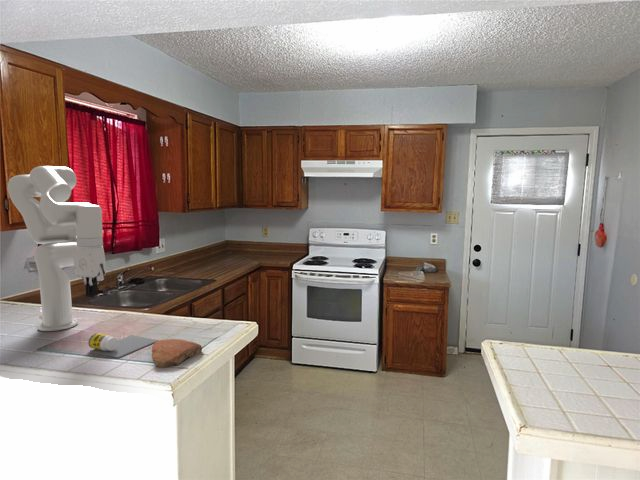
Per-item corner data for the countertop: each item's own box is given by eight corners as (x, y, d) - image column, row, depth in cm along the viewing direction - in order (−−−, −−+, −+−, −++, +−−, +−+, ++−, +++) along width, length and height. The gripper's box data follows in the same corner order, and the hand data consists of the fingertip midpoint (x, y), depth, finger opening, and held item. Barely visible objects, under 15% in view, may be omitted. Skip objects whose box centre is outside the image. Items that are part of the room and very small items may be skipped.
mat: (89, 352, 131) (89, 350, 131) (131, 336, 145) (131, 335, 145) (118, 358, 126) (118, 357, 126) (158, 341, 140) (158, 340, 140)
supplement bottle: (91, 331, 133) (110, 334, 129) (102, 335, 136) (121, 338, 133) (84, 346, 131) (103, 349, 127) (96, 349, 134) (115, 353, 131)
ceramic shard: (129, 347, 121) (163, 338, 135) (131, 370, 121) (164, 358, 135) (173, 345, 117) (202, 336, 131) (175, 369, 117) (204, 356, 131)
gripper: (63, 241, 137) (66, 295, 140) (95, 246, 131) (97, 302, 134) (84, 238, 144) (86, 290, 147) (115, 243, 138) (117, 296, 141)
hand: (91, 295), depth 140 cm, fingers closed
